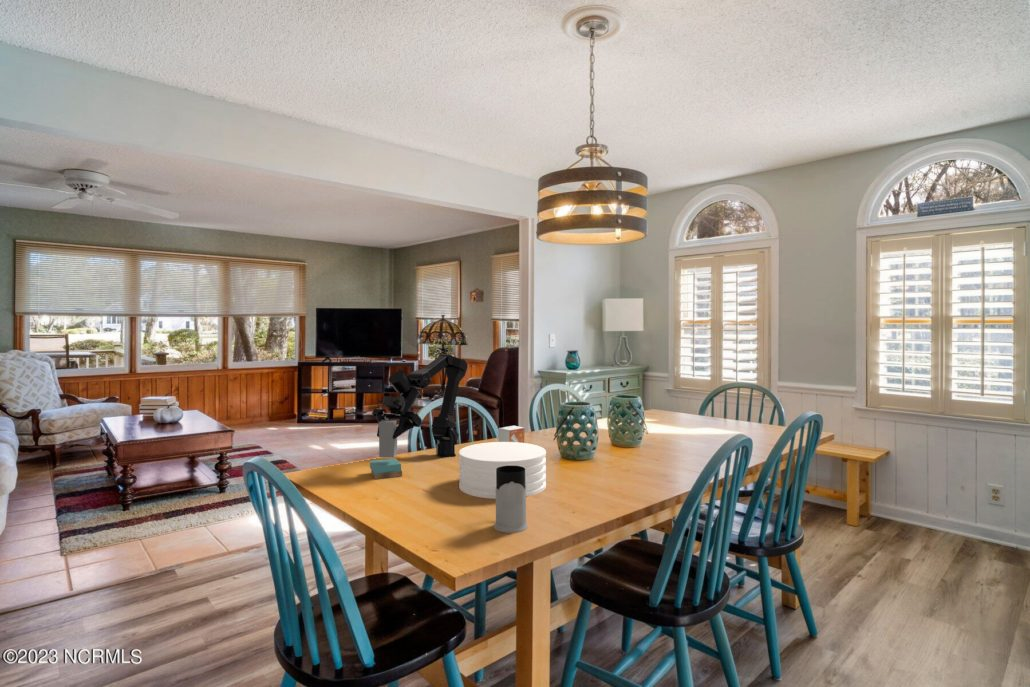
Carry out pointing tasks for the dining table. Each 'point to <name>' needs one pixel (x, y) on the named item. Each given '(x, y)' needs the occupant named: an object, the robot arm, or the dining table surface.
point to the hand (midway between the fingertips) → (385, 437)
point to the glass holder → (510, 499)
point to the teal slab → (385, 466)
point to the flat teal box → (387, 475)
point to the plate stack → (487, 457)
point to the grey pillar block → (387, 438)
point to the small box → (511, 434)
